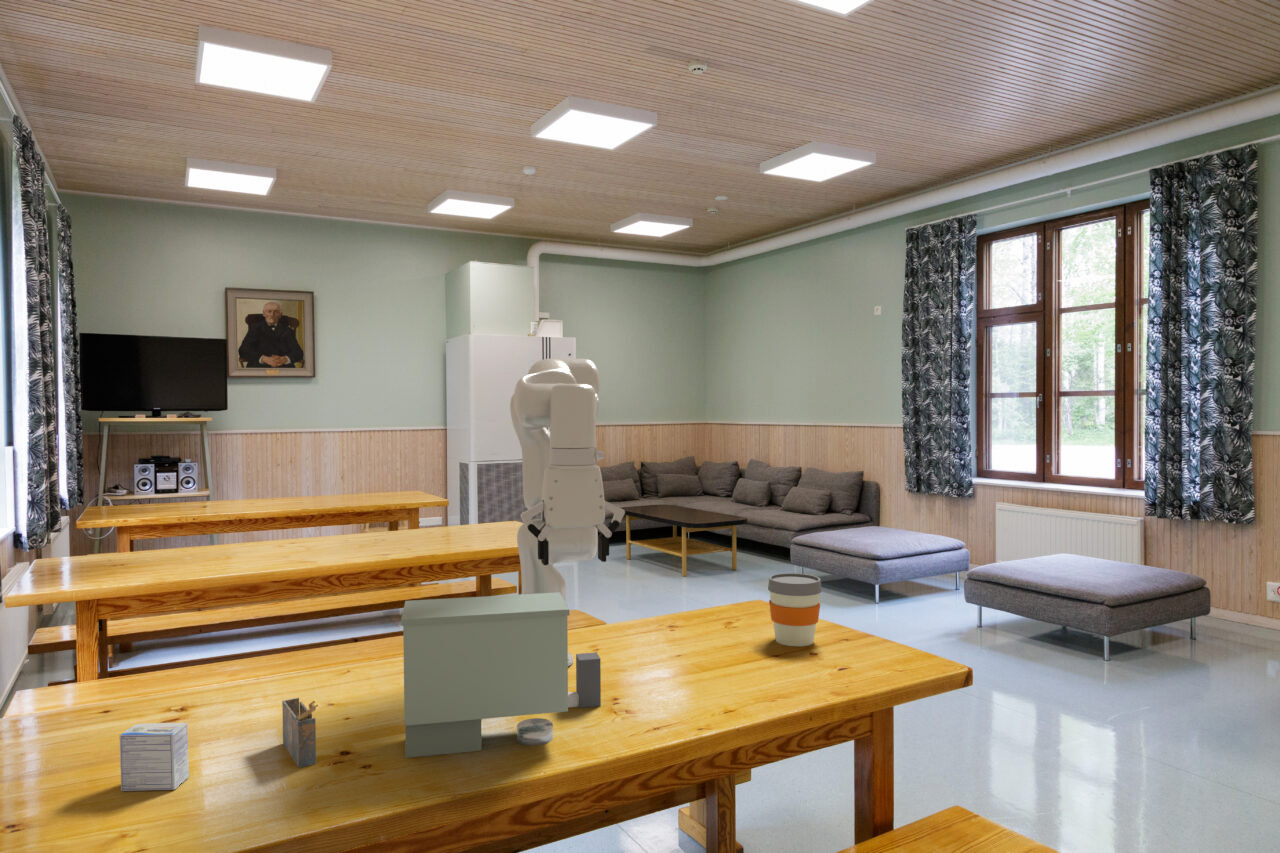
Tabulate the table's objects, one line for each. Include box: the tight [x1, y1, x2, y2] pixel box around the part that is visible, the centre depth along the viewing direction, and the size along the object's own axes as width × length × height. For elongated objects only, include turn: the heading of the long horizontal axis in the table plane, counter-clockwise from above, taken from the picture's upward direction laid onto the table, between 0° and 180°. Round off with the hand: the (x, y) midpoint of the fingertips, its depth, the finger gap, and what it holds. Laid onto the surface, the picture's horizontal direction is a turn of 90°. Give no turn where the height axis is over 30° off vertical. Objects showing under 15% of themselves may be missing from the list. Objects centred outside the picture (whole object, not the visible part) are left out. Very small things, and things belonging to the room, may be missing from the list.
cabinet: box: [400, 592, 570, 759], centre depth 139 cm, size 13×27×23 cm, turn 103°
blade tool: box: [568, 652, 602, 709], centre depth 155 cm, size 4×18×9 cm, turn 103°
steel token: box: [516, 717, 554, 747], centre depth 140 cm, size 6×6×2 cm
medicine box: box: [119, 722, 190, 792], centre depth 123 cm, size 8×4×9 cm, turn 92°
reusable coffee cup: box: [767, 572, 823, 647], centre depth 197 cm, size 13×13×15 cm
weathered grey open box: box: [281, 697, 319, 768], centre depth 135 cm, size 11×3×10 cm, turn 35°
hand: (573, 562), depth 136 cm, fingers open, 9 cm apart
